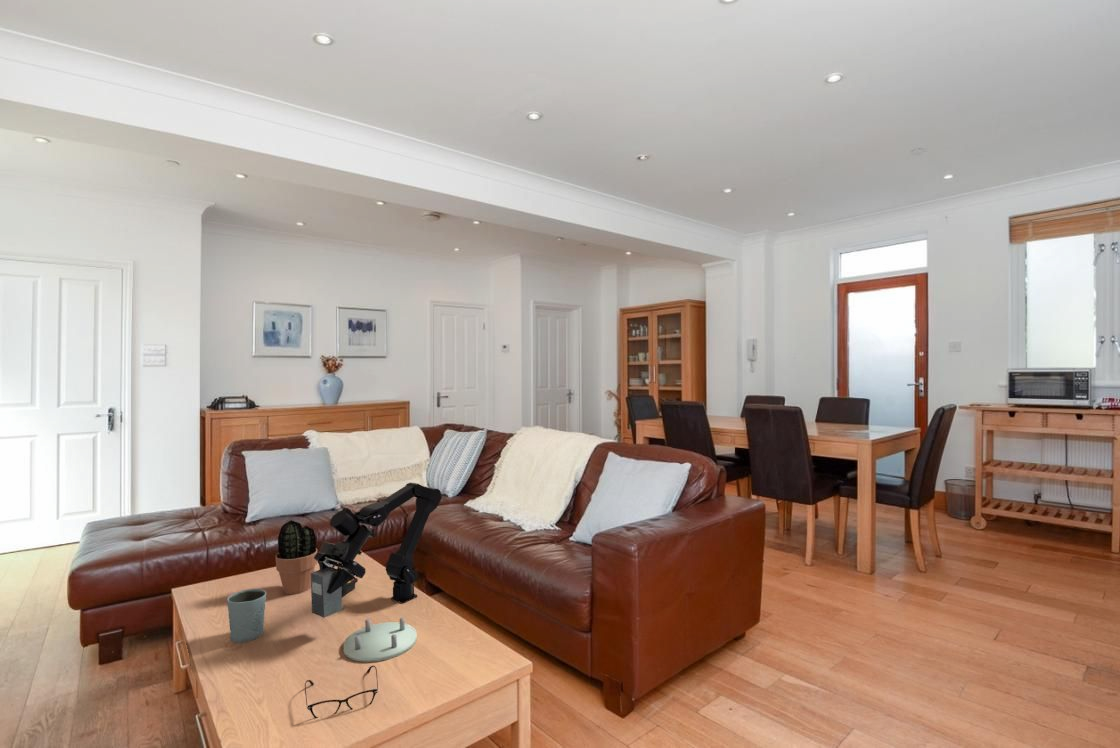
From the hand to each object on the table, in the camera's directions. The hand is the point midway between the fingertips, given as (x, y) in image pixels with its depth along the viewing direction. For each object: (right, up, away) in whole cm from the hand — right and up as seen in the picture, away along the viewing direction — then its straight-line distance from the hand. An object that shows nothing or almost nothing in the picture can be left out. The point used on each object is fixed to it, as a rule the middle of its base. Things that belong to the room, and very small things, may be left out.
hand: (322, 591), depth 163 cm
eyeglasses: (+17, -15, -28) cm, 36 cm away
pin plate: (+19, -13, -4) cm, 23 cm away
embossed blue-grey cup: (-23, -14, +2) cm, 27 cm away
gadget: (-6, -13, +31) cm, 34 cm away
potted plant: (-24, -13, +35) cm, 44 cm away
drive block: (+1, -7, +1) cm, 7 cm away
